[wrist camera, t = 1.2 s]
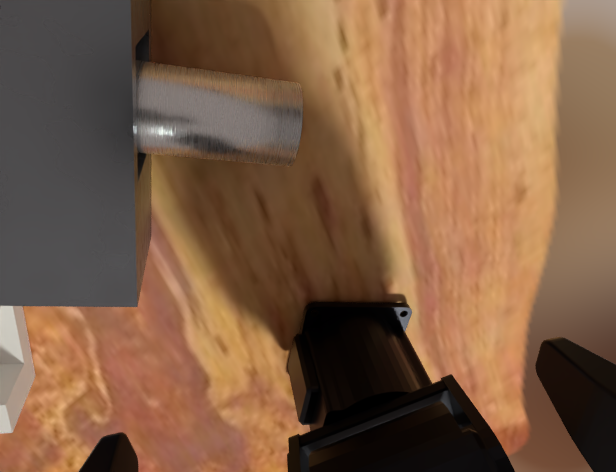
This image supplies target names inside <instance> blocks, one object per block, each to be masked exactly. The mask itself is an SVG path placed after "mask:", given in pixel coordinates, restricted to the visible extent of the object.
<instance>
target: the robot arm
mask: <svg viewBox="0 0 616 472" xmlns="http://www.w3.org/2000/svg"><path fill="white" fill-rule="evenodd" d="M313 310H317V311H315V312H311V311H313ZM402 311H404V312H402ZM401 312H402V313H401ZM411 314H412V311H411V309H410V307H409V305H408V304H406V303H357V302H311V303H309V304H308V305H307V306H306V307H305V309H304V314H303V319H302V323H301V328H300V332H299V334H297V335H296V336H295V337H294V339H293V344H292V348H291V353H290V358H289V363H288V370H289V375H290V381H291V385H292V390H293V395H294V400H295V405H296V410H297V415H298V420H299V422H300V423H301V424H302V425H309V426H310V430H311V431H310V432H308V433H305V434H303V435H299V434H297V435H295V436H292V437H290V438H289V453H288V454H287V462H288V472H515V471H514V469H513V467H512V465H511V463H510V461H509V459H508V457H507V455H506V453H505V451H504V449H503V448H502V446H501V444H500V442H499V441H498V439H497V437H496V436H495V434H494V433H493V431H492V430H491V428H490V427H489V425H488V424H487V422H486V421H485V420H484V418H483V417H482V416H481V414H480V413H479V412H478V410H477V409H476V407H475V406H474V405H473V403H472V402H471V401H470V399H469V398H468V396H467V395H466V394H465V392H464V391H463V390H462V388H461V387H460V385H459V384H458V383H457V381H456V380H455V379H454V377H453V376H452V375H448V376H445V377H443V378H441V380H440V381H438V382H435V383H433V384H432V382H431V380H430V378H429V376H428V375H427V373H426V371H425V369H424V367H423V365H422V363H421V361H420V359H419V358H418V356H417V354H416V352H415V350H414V348H413V346H412V344H411V343H410V341H409V339H408V337H407V335H406V333H405V330H406V328H407V325H408V322H409V319H410V317H411ZM536 372H537V375H538V377H539V379H540V381H541V383H542V385H543V387H544V388H545V390H546V392H547V394H548V396H549V398H550V399H551V401H552V403H553V405H554V407H555V409H556V411H557V413H558V414H559V416H560V418H561V419H562V422H563V424H564V425H565V427H566V429H567V431H568V433H569V434H570V436H571V438H572V440H573V441H574V443H575V444H576V446H577V447H578V449H579V451H580V452H581V454H582V455H583V457H584V458H585V459H586V461H587V462H588V464H589V466H590V467H591V469H592V470H593V471H594V472H616V365H615V364H613V363H611V362H610V361H608V360H606V359H604V358H602V357H600V356H598V355H596V354H594V353H592V352H590V351H589V350H587V349H585V348H583V347H581V346H579V345H577V344H575V343H573V342H571V341H570V340H568V339H566V338H563V337H556V338H551V339H547V340H544V341H543V342H542V344H541V347H540V350H539V354H538V358H537V361H536ZM79 472H138V458H137V455H136V453H135V451H134V449H133V447H132V445H131V443H130V441H129V439H128V437H127V435H126V434H125V433H123V432H120V433H115V434H111V435H106V436H104V437H103V438H101V439H100V440H99V442H98V443H97V445H96V446H95V448H94V449H93V451H92V452H91V454H90V455H89V457H88V458H87V460H86V461H85V463H84V464H83V466H82V467H81V469H80V470H79Z"/></svg>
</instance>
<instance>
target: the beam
mask: <svg viewBox="0 0 616 472" xmlns="http://www.w3.org/2000/svg"><path fill="white" fill-rule="evenodd" d="M136 60H139V61H146V62H151V0H0V306H87V307H137V306H138V301H139V296H140V291H141V285H142V280H143V275H144V270H145V265H146V260H147V255H148V250H149V245H150V240H151V154H146V153H137V106H136Z"/></svg>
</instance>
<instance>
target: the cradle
mask: <svg viewBox="0 0 616 472" xmlns="http://www.w3.org/2000/svg"><path fill="white" fill-rule="evenodd" d="M34 378H35V370H34V365H33V359H32V354H31V349H30V343H29V338H28V332H27V327H26V322H25V316H24V311H23V306H0V433H12V432H13V430H14V428H15V425H16V423H17V420H18V418H19V415H20V413H21V410H22V408H23V405H24V403H25V401H26V398H27V396H28V393H29V391H30V388H31V386H32V383H33V381H34Z"/></svg>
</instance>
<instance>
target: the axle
mask: <svg viewBox="0 0 616 472" xmlns="http://www.w3.org/2000/svg"><path fill="white" fill-rule="evenodd" d="M136 106H137V153H146V154H157V155H168V156H180V157H191V158H202V159H213V160H224V161H235V162H246V163H257V164H268V165H280V166H292V164H293V163H294V161H295V158H296V155H297V152H298V148H299V143H300V137H301V130H302V120H303V95H302V88H301V85H300V84H299V83H297V82H290V81H283V80H276V79H268V78H261V77H254V76H247V75H240V74H232V73H225V72H218V71H211V70H204V69H196V68H189V67H182V66H175V65H168V64H160V63H153V62H146V61H139V60H136Z"/></svg>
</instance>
